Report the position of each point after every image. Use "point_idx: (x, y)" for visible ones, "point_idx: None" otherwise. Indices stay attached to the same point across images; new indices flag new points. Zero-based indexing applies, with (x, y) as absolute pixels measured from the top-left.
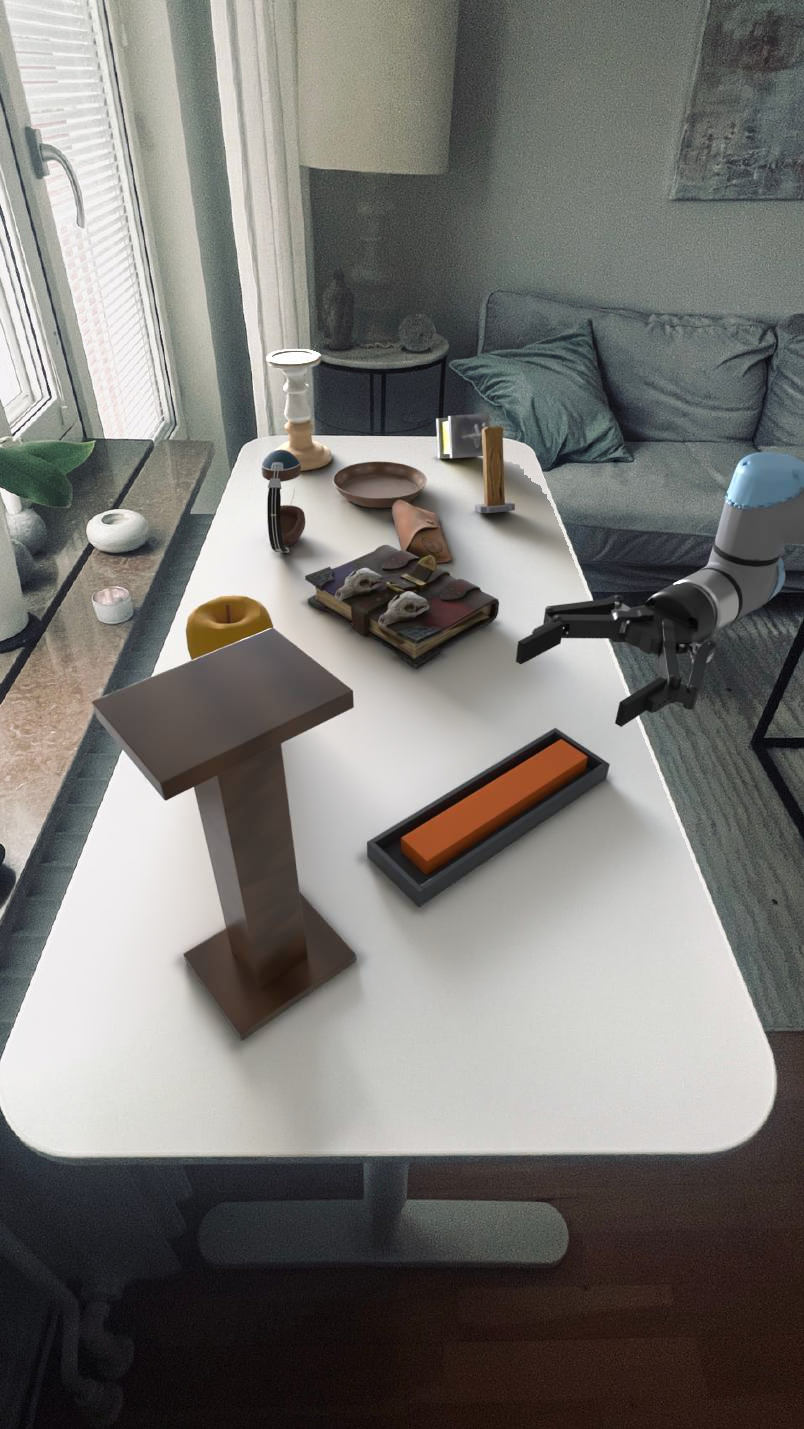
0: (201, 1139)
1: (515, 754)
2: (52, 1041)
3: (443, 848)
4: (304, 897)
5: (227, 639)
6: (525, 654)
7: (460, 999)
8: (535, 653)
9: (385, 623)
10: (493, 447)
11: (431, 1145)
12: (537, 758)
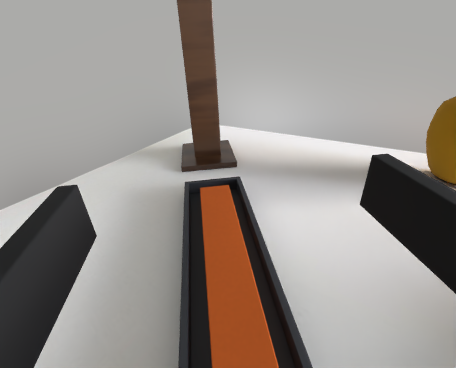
0: (163, 140)
1: (282, 301)
2: (222, 128)
3: (202, 196)
4: (227, 162)
5: (445, 104)
6: (372, 191)
7: (126, 190)
8: (394, 224)
9: None
10: None
11: (97, 168)
12: (256, 315)
